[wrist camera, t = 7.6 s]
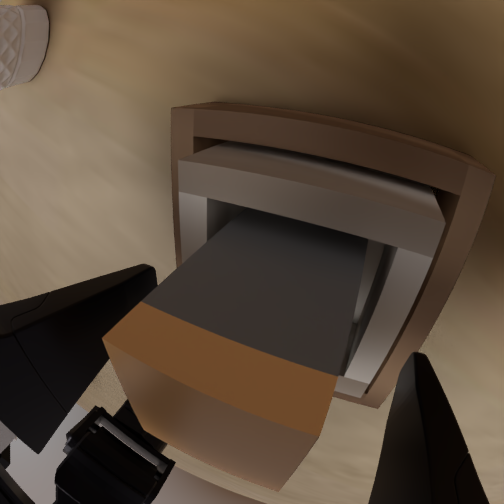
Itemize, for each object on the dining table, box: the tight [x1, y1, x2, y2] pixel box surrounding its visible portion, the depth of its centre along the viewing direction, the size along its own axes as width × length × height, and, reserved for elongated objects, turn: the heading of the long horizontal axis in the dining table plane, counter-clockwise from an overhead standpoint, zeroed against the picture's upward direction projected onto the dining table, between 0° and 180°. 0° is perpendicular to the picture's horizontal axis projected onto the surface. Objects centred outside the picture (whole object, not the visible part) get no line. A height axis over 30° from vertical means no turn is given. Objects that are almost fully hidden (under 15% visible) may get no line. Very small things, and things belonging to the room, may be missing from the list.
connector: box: [102, 207, 368, 492], centre depth 9 cm, size 4×4×8 cm
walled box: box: [171, 102, 496, 409], centre depth 12 cm, size 12×11×5 cm
